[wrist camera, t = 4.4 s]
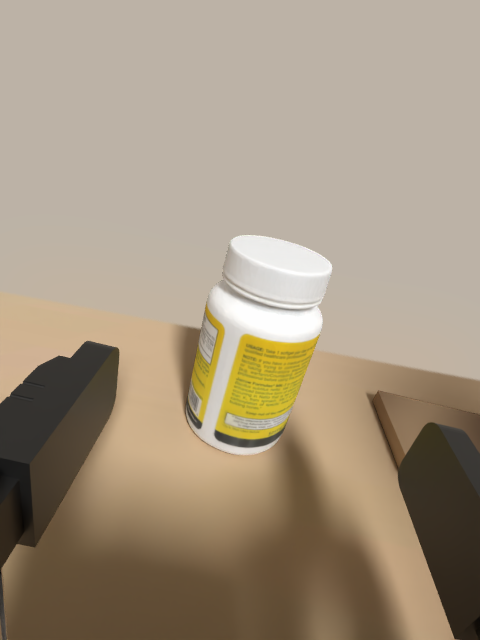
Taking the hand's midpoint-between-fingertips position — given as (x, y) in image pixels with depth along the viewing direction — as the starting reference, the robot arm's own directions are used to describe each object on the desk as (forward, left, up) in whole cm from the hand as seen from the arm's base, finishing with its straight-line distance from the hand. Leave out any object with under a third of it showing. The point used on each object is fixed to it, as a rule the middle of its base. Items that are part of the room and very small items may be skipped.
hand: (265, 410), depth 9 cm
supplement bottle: (0, -6, -6) cm, 8 cm away
